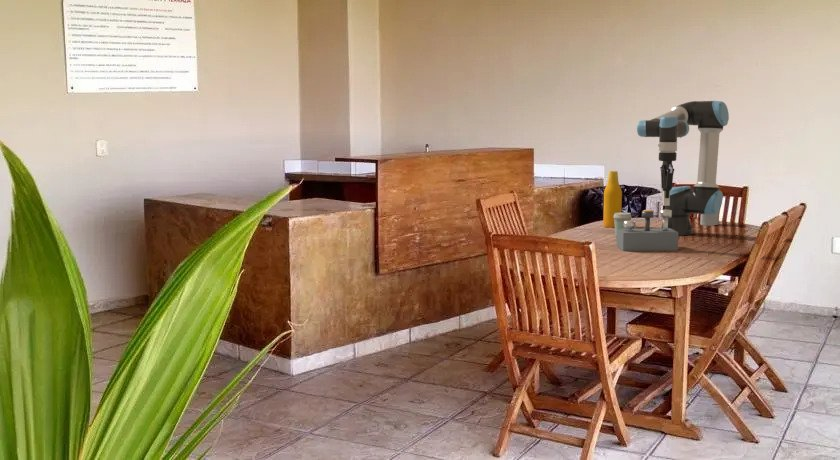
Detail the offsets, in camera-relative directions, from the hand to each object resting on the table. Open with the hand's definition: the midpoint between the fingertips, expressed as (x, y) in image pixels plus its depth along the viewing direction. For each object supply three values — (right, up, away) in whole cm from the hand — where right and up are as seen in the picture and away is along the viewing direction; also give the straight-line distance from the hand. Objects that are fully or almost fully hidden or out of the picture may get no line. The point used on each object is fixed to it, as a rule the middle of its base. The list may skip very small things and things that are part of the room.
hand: (666, 205), depth 385 cm
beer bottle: (-8, -9, +71) cm, 72 cm away
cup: (+44, -8, +74) cm, 87 cm away
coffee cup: (-12, -15, +33) cm, 38 cm away
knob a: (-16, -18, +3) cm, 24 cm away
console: (-8, -19, +3) cm, 21 cm away
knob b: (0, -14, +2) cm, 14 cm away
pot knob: (-8, -14, +2) cm, 16 cm away
